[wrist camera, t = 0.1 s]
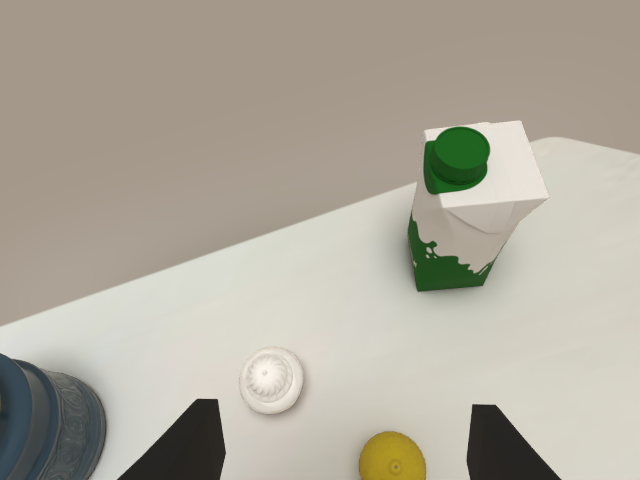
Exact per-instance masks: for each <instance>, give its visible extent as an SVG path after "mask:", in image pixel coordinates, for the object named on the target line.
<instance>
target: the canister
mask: <svg viewBox="0 0 640 480" xmlns="http://www.w3.org/2000/svg"><path fill="white" fill-rule="evenodd" d="M104 439H105V416H104V411H103V408H102V405H101V403H100V401H99V399H98V397H97V396H96V395H95V393H94V392H93V391H92V390H91V389H90V388H89V387H87V386H86V385H85V384H84V383H83V382H81V381H80V380H78V379H76V378H74V377H72V376H69V375H66V374H63V373H57V372H50V371H47V370H43V369H40V368H38V367H36V366H35V365H33V364H31V363H28V362H25V361H22V360H16V359H11V358H9V357H7V356H5V355H3V354H1V353H0V480H87V479H88V478H89V476H90V475H91V473H92V471H93V470H94V468H95V466H96V464H97V462H98V459H99V457H100V454H101V451H102V448H103V444H104Z"/></svg>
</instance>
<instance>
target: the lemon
mask: <svg viewBox="0 0 640 480" xmlns="http://www.w3.org/2000/svg"><path fill="white" fill-rule="evenodd" d="M359 472H360V476H361V480H425V479H426V465H425V459H424V457H423V455H422V452H421V450H420V449H419V447H418V446H417V445H416V443H415V442H413V441H412V440H411V439H410V438H409V437H407V436H405V435H403V434H402V433H397V432H383V433H380V434H377V435H375V436H374V437H372V438H371V439H370V440H369V441H368V442H367V443H366V445H365V446H364V448H363V450H362V452H361V456H360V460H359Z"/></svg>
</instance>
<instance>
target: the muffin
mask: <svg viewBox="0 0 640 480" xmlns="http://www.w3.org/2000/svg"><path fill="white" fill-rule="evenodd" d="M302 386H303V370H302V367H301V365H300V363H299V361H298V359H297V358H296V357H295V356H294V355H293V354H292V353H291V352H289V351H287V350H285V349H283V348H278V347H268V348H263V349H260V350H258V351H256V352H255V353H253V354H252V355H251V356H250V357H249V358H248V359H247V360H246V362H245V363H244V365H243V367H242V370H241V373H240V378H239V388H240V392H241V395H242V397H243V399H244V401H245V402H246V404H247V405H248V406H249V407H250V408H252V409H253V410H255V411H257V412H259V413H263V414H275V413H279V412H282V411H285V410H287V409H288V408H290V407H291V406H292V405H293V404H294V403H295V402H296V400H297V399H298V397H299V395H300V392H301V390H302Z"/></svg>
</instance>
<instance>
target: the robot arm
mask: <svg viewBox="0 0 640 480" xmlns="http://www.w3.org/2000/svg"><path fill="white" fill-rule="evenodd" d="M225 454H226V451H225V444H224V438H223V431H222V425H221V418H220V412H219V405H218V399H196V400H195V401H194V402H193V403H192V404H191V405H190V406H189V408H188V409H187V410H186V411H185V412H184V413H183V414H182V415H181V416H180V417H179V418H178V419H177V420H176V421H175V422H174V424H173V425H172V426H171V427H170V428H169V429H168V430H167V431H166V432H165V433H164V434H163V435H162V436H161V437H160V438H159V439H158V440H157V441H156V442H155V443H154V444H153V445H152V446H151V447H150V448H149V449H148V450H147V452H146V453H145V454H144V455H143V456H142V457H141V458H140V459H138V460H137V461H136V462H135V463H134V464H133V465H132V466H131V467H130V468H129V469H128V470H127V471H126V472H125V473H124V474H123V475H121V476H120V477H119V478H118V479H117V480H220V476H221V472H222V468H223V463H224V459H225ZM467 465H468V470H469V475H470V480H561V479H560V478H559V477H558V476H557V475H556V473H555V472H554V471H553V470H552V469H551V468H550V467H549V466H548V465H547V464H546V463H545V461H544V460H543V459H542V458H541V457H540V456H539V455H538V454H537V453H536V452H535V450H534V449H533V448H532V447H531V446H530V445H529V444H528V442H527V441H526V440H525V439H524V438H523V437H522V435H521V434H520V433H519V432H518V431H517V430H516V428H515V427H514V426H513V425H512V424H511V422H510V421H509V420H508V419H507V418H506V416H505V415H504V414H503V413H502V411H501V410H500V409H499V408H498V407H497V406H496V405H478V404H473V405H472V414H471V424H470V433H469V442H468V451H467Z"/></svg>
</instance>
